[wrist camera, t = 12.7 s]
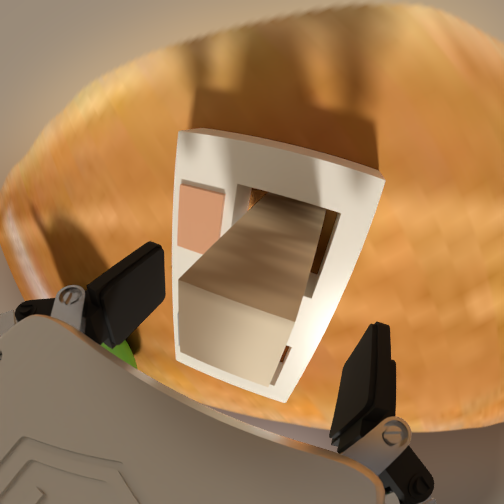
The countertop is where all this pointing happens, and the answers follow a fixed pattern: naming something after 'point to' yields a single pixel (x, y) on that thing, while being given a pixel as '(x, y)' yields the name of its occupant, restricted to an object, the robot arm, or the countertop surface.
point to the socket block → (236, 205)
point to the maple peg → (250, 288)
